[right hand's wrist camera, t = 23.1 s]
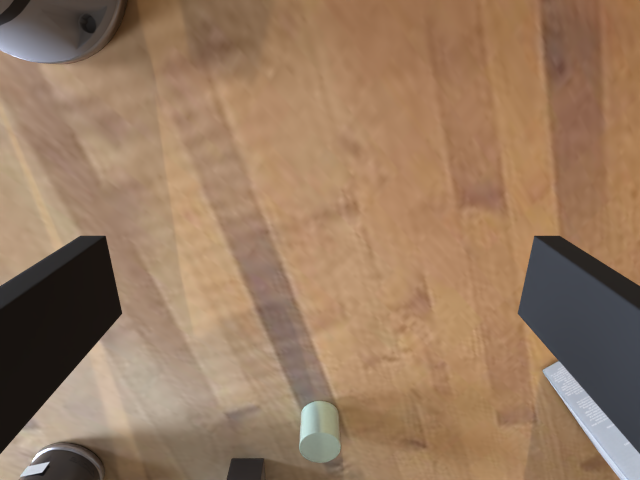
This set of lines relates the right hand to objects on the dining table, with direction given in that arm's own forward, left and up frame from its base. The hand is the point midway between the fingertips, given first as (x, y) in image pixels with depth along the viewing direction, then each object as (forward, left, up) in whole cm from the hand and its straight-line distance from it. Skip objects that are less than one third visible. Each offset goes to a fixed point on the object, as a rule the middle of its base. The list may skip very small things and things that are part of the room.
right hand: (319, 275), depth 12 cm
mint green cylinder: (0, -35, -29) cm, 45 cm away
